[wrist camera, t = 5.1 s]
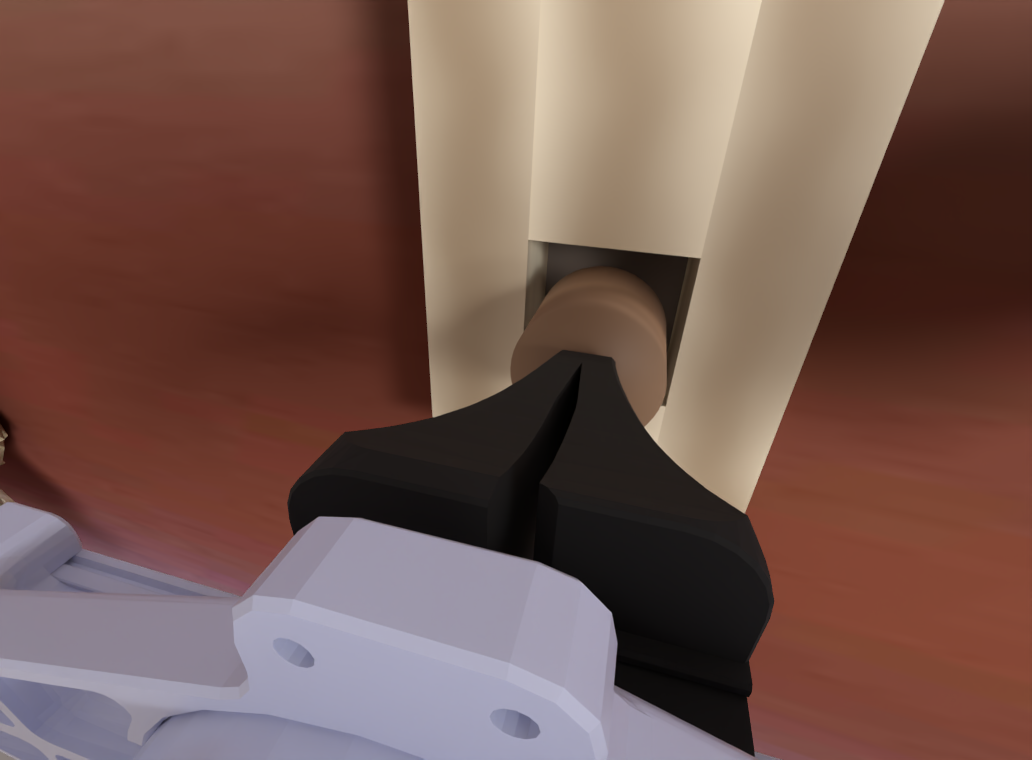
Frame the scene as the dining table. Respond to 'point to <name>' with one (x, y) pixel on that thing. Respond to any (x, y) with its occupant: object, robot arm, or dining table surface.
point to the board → (654, 185)
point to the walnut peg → (602, 332)
